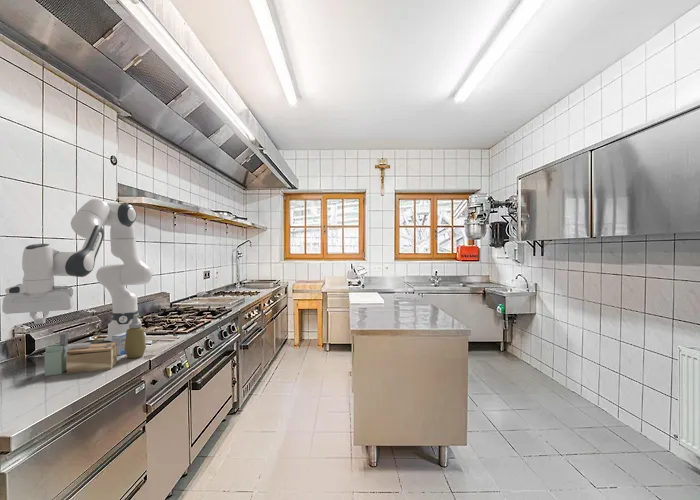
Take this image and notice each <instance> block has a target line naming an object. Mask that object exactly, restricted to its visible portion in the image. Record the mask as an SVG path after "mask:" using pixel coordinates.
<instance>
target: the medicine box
mask: <svg viewBox="0 0 700 500" xmlns="http://www.w3.org/2000/svg"><path fill="white" fill-rule="evenodd" d="M125 340H126V332H124V333H121V334H117V335H114V336H112V341H111V343H113V342H117V344H116V345H117V356H122V355H125V354H126V352H125V350H124V349H125Z"/></svg>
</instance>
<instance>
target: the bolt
mask: <svg viewBox="0 0 700 500" xmlns="http://www.w3.org/2000/svg"><path fill="white" fill-rule="evenodd" d="M68 333H69V332H62V333H60V334H59V344H60V346H63V350H68V351H69V350H70V349H80V348H89V347H90V346H91V344H92V342H80V343H79V342H77V343H71V344H70V343H69V342H68V341H69V340H68V339H69V334H68Z"/></svg>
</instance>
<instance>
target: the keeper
mask: <svg viewBox="0 0 700 500" xmlns="http://www.w3.org/2000/svg"><path fill="white" fill-rule="evenodd" d="M67 351H69V350H63V346H60V343H53V344H50V345H49V346H47V347H45V352H44V376H45V377H48V376H55V375H57V376H58V375H62V374H64V373H65V372H66V371H67V355H68V354H67Z"/></svg>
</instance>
